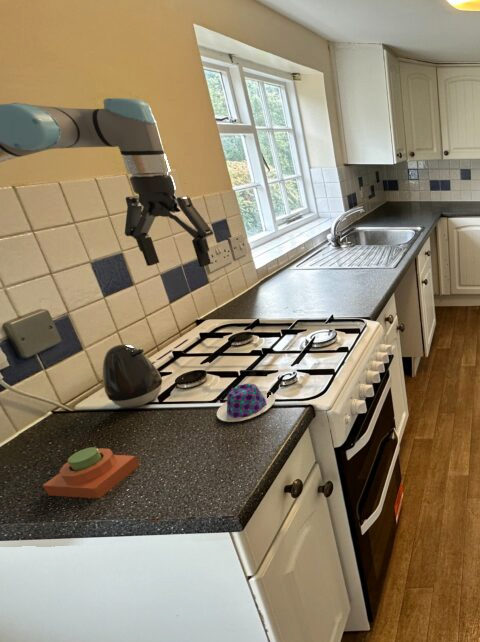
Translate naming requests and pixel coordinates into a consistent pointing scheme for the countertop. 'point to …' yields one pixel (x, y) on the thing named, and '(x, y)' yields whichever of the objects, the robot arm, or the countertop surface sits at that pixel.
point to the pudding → (245, 403)
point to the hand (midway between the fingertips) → (179, 264)
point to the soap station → (92, 476)
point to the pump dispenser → (130, 376)
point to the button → (84, 458)
